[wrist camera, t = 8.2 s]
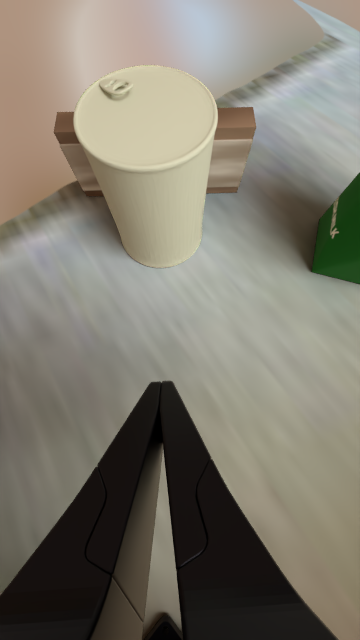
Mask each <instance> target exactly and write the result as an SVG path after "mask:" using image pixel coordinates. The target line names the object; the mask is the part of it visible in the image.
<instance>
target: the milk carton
mask: <svg viewBox="0 0 360 640" xmlns="http://www.w3.org/2000/svg"><path fill="white" fill-rule="evenodd" d="M312 272H314V273H318V274H322V275H326V276H330V277H334V278H338V279H342V280H346V281H350V282H354V283H358V284H360V173H359V174H358V175H357V176H356V177H355V179H354V180H353V181H352V182H351V183H350V184H349V186H348V187H347V188H346V189H345V190H344V191H343V193H342V194H341V195H340V196H339V197H338V198H337V199H336V201H335V202H334V203H333V204H332V205H331V207H330V208H329V209H328V210H327V211H326V212H325V214H324V215H323V216H322V217H321V218H320V219H319V225H318V232H317V239H316V245H315V252H314V259H313V265H312Z"/></svg>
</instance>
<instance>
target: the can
mask: <svg viewBox="0 0 360 640" xmlns="http://www.w3.org/2000/svg"><path fill="white" fill-rule="evenodd" d="M217 122H218V111H217V105H216V103H215V100H214V98H213V96H212V94H211V93H210V91H209V90H208V89H207V88H206V86H204V85H203V84H202V83H201V82H200V81H199V80H197V79H196V78H195V77H193V76H191V75H189V74H187V73H185V72H183V71H180V70H177V69H174V68H169V67H164V66H155V65H143V66H134V67H128V68H124V69H120V70H117V71H115V72H112V73H110V74H107V75H105V76H104V77H102V78H101V79H99V80H97V81H96V82H95V83H93V84H92V85H91V86H90V87H89V88H88V89H87V90H86V91H85V92H84V93H83V95H82V96H81V97H80V99H79V101H78V103H77V105H76V107H75V111H74V117H73V124H74V130H75V133H76V136H77V139H78V141H79V142H80V144H81V146H82V147H83V150H84V152H85V154H86V156H87V158H88V160H89V163H90V165H91V167H92V169H93V172H94V174H95V176H96V179H97V181H98V183H99V185H100V188H101V190H102V192H103V195H104V197H105V199H106V202H107V204H108V207H109V209H110V211H111V214H112V216H113V218H114V221H115V223H116V226H117V228H118V231H119V233H120V236H121V241H122V244H123V246H124V248H125V250H126V252H127V253H128V254H129V255H130V256H131V257H132V258H133V259H134V260H136V261H137V262H139V263H141V264H143V265H146V266H149V267H154V268H167V267H172V266H175V265H178V264H180V263H182V262H184V261H186V260H187V259H188V258H190V257H191V256H192V255H193V254H194V252H195V251H196V250H197V248H198V247H199V244H200V242H201V238H202V220H203V212H204V204H205V197H206V189H207V182H208V174H209V168H210V161H211V154H212V147H213V141H214V135H215V131H216V127H217Z"/></svg>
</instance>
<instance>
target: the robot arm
mask: <svg viewBox="0 0 360 640" xmlns="http://www.w3.org/2000/svg"><path fill="white" fill-rule="evenodd" d="M163 449H164V458H165V468H166V477H167V487H168V496H169V506H170V516H171V525H172V535H173V544H174V554H175V563H176V571H177V582H178V592H179V602H180V612H181V623H182V633H181V631H180V630H179V629H178V627H177V626H176V624H175V623H174V622H173V620H172V619H171V618H170V617H169V616H163V617H162V618H161V619H160V620H159V621H158V623H157V624H156V625H155V626H154V628H153V629H152V630H151V632H150V633H149V634H148V635H147V637H146V638H145V639H144V640H338V638H337V637H336V636H335V635H334V634H333V633H332V632H331V631H330V630H329V629H328V627H327V626H326V625H325V624H324V623H323V622H322V621H321V620H320V619H319V617H318V616H317V615H316V614H315V613H314V612H313V611H312V610H311V609H310V607H309V606H308V605H307V604H306V603H305V602H304V600H303V599H302V598H301V597H300V595H299V594H298V593H297V592H296V590H295V589H294V588H293V586H292V585H291V584H290V582H289V581H288V580H287V578H286V577H285V575H284V574H283V573H282V571H281V570H280V568H279V567H278V565H277V564H276V562H275V561H274V559H273V558H272V556H271V555H270V553H269V552H268V550H267V549H266V547H265V546H264V544H263V542H262V541H261V539H260V538H259V536H258V535H257V533H256V532H255V530H254V529H253V527H252V526H251V524H250V523H249V521H248V520H247V518H246V517H245V515H244V514H243V512H242V510H241V509H240V507H239V506H238V504H237V502H236V501H235V499H234V498H233V496H232V494H231V493H230V491H229V490H228V488H227V486H226V484H225V482H224V480H223V479H222V477H221V475H220V473H219V471H218V469H217V467H216V465H215V463H214V462H213V460H212V459H211V456H210V454H209V452H208V450H207V448H206V446H205V444H204V442H203V440H202V438H201V436H200V434H199V432H198V430H197V428H196V426H195V424H194V422H193V420H192V419H191V417H190V415H189V413H188V411H187V409H186V407H185V405H184V403H183V401H182V399H181V397H180V395H179V393H178V391H177V389H176V387H175V385H174V383H173V382H172V381H163V382H162V383H161V382H160V381H159V382H151V383H150V384H149V385H148V387H147V389H146V390H145V392H144V393H143V395H142V396H141V398H140V399H139V401H138V403H137V404H136V406H135V407H134V409H133V410H132V412H131V413H130V415H129V416H128V418H127V420H126V421H125V423H124V424H123V426H122V427H121V429H120V430H119V432H118V434H117V435H116V437H115V438H114V440H113V441H112V443H111V444H110V446H109V447H108V449H107V451H106V452H105V454H104V455H103V457H102V458H101V460H100V461H99V463H98V467H95V469H94V470H93V472H92V474H91V475H90V477H89V478H88V480H87V481H86V483H85V484H84V486H83V487H82V489H81V490H80V492H79V493H78V495H77V496H76V497H75V499H74V500H73V502H72V503H71V504H70V506H69V507H68V508H67V510H66V511H65V512H64V514H63V515H62V516H61V518H60V519H59V520H58V522H57V523H56V524H55V526H54V527H53V528H52V530H51V531H50V532H49V534H48V535H47V536H46V537H45V539H44V540H43V541H42V543H41V544H40V545H39V546H38V548H37V549H36V550H35V552H34V553H33V554H32V556H31V557H30V558H29V559H28V561H27V562H26V563H25V565H24V566H23V567H22V569H21V570H20V571H19V572H18V574H17V575H16V576H15V578H14V579H13V580H12V582H11V583H10V584H9V585H8V587H7V588H6V589H5V590H4V592H3V593H2V594H1V595H0V640H142V633H143V621H144V614H145V605H146V596H147V587H148V578H149V569H150V561H151V552H152V543H153V534H154V525H155V516H156V507H157V498H158V489H159V480H160V471H161V462H162V453H163ZM164 626H167V627H168V629H164V628H163V627H164Z"/></svg>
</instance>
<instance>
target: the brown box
mask: <svg viewBox="0 0 360 640" xmlns="http://www.w3.org/2000/svg"><path fill="white" fill-rule="evenodd" d="M217 111H218V122H217V127H216V131H215V135H214V141H213V147H212V154H211V161H210V168H209V174H208V182H207V189H206V193H233V192H237V190H238V187H239V185H240V182H241V178H242V175H243V172H244V168H245V165H246V162H247V158H248V155H249V152H250V148H251V145H252V142H253V136H254V133H255V129H256V123H255V117H254V111H253V107H241V108H217ZM73 117H74V112H57V117H56V122H55V129H54V134H55V136H56V137H57V139H58V141H59V143H60V147H61V149H62V151H63V153H64V155H65V157H66V159H67V161H68V163H69V165H70V167H71V168H72V170H73V172H74V174H75V176H76V178H77V180H78V182H79V184H80V186H81V188H82V189H83V191H84V192H85V194H86V196H104V195H103V192H102V190H101V188H100V185H99V183H98V181H97V179H96V176H95V174H94V172H93V169H92V167H91V165H90V163H89V160H88V158H87V156H86V154H85V152H84V150H83V147H82V146H81V144H80V142H79V141H78V139H77V136H76V133H75V130H74V124H73Z"/></svg>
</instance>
